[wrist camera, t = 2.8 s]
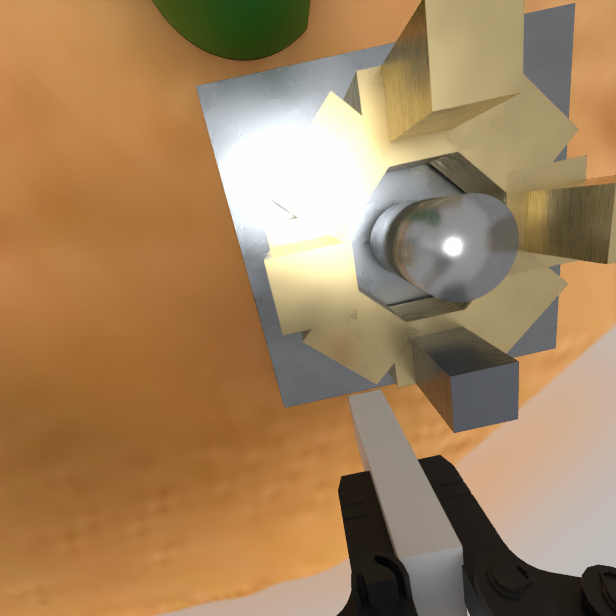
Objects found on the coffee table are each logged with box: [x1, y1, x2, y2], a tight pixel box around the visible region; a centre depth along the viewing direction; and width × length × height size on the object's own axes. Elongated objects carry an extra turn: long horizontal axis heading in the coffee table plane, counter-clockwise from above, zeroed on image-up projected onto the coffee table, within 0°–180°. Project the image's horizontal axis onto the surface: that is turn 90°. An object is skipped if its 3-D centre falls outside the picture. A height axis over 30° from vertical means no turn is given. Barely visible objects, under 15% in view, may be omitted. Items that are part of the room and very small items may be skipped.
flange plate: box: [196, 3, 575, 408], centre depth 16 cm, size 20×20×8 cm
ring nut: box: [264, 0, 616, 433], centre depth 15 cm, size 16×16×7 cm
